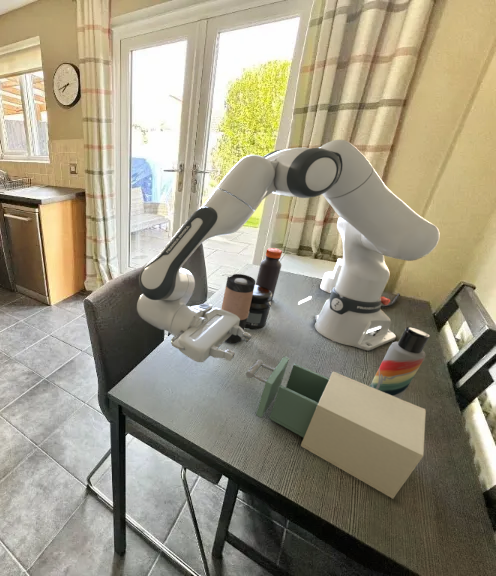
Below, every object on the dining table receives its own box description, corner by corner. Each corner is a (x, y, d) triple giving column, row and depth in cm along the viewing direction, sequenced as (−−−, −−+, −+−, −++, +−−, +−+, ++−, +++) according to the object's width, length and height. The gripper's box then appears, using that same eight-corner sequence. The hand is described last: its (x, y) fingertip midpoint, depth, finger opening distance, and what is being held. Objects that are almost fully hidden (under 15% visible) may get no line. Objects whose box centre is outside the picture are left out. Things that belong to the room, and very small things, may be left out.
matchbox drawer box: (300, 445, 62) (317, 404, 57) (316, 410, 70) (332, 371, 65) (393, 499, 53) (423, 455, 48) (399, 450, 61) (426, 409, 56)
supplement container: (261, 315, 107) (269, 285, 101) (269, 333, 97) (278, 300, 92) (230, 312, 109) (236, 282, 103) (234, 329, 99) (241, 296, 94)
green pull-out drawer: (234, 403, 71) (243, 370, 66) (254, 378, 78) (262, 347, 74) (325, 454, 59) (343, 419, 55) (338, 419, 67) (354, 385, 62)
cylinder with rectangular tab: (346, 296, 119) (357, 268, 114) (319, 290, 124) (329, 263, 118) (345, 288, 126) (356, 260, 121) (320, 282, 131) (329, 256, 125)
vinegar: (250, 294, 121) (261, 246, 112) (268, 296, 120) (281, 247, 111) (255, 303, 115) (267, 253, 106) (274, 304, 114) (288, 254, 105)
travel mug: (244, 345, 91) (258, 286, 83) (217, 342, 93) (229, 283, 84) (240, 331, 98) (252, 274, 89) (215, 328, 100) (225, 272, 91)
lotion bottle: (359, 391, 75) (393, 323, 66) (381, 390, 76) (417, 322, 67) (380, 410, 70) (419, 339, 61) (402, 408, 70) (445, 337, 61)
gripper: (167, 331, 72) (223, 357, 63) (210, 300, 85) (261, 319, 76) (166, 352, 75) (219, 380, 66) (207, 319, 88) (255, 339, 79)
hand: (241, 347), depth 71 cm, fingers open, 8 cm apart
